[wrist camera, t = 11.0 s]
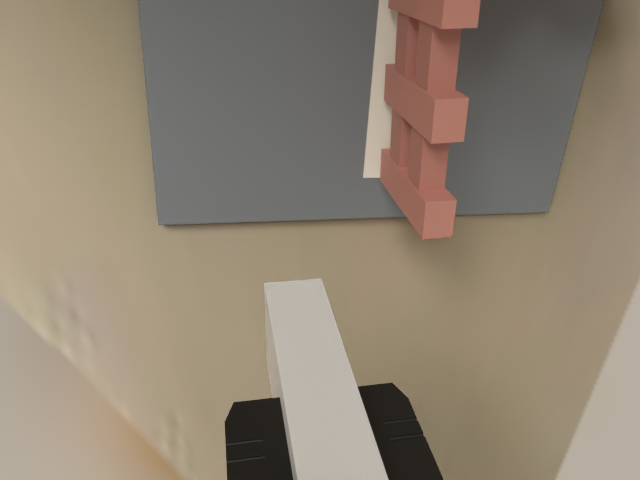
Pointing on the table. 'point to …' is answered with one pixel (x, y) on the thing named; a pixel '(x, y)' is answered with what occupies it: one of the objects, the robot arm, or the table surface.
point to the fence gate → (425, 110)
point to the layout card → (347, 106)
